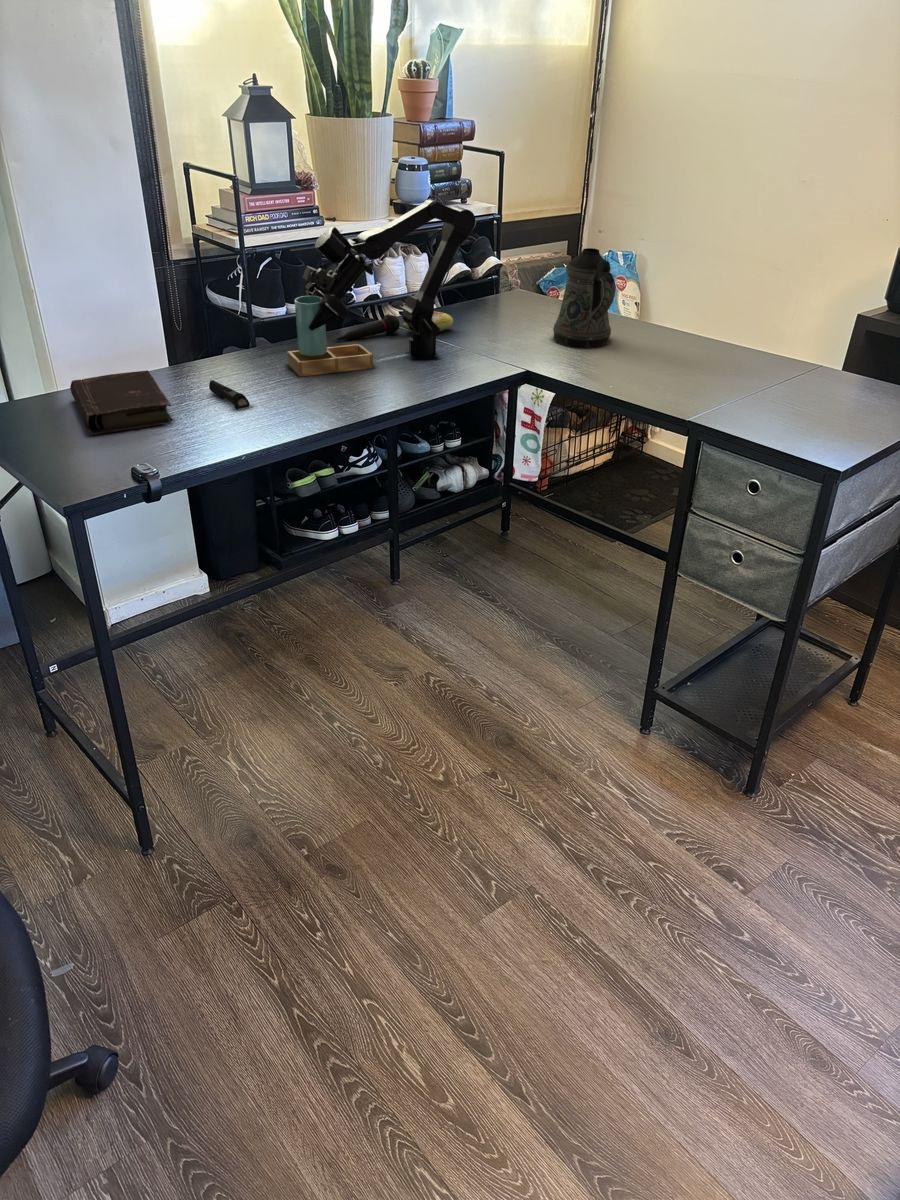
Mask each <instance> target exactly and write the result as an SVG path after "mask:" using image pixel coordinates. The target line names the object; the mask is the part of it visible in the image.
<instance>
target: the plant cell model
mask: <svg viewBox="0 0 900 1200" xmlns="http://www.w3.org/2000/svg"><path fill="white" fill-rule="evenodd" d="M432 321H433V322H434V323H435V324H436V325H437V326H438V327H439V328H440V330H439V332H442V331H445V330H447V329H449V328H451V327H452V326H453V324H454V319H453V317H452V316H451V315H450V314H448V313H445V312H441V311H435V310H434V313H433V317H432ZM403 328H405V329H406V330H408V331H410V332H413V331H412V330H410V329H409V326H408V324H406V323H405V322H404V321H403Z"/></svg>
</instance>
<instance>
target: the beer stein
mask: <svg viewBox="0 0 900 1200" xmlns="http://www.w3.org/2000/svg"><path fill="white" fill-rule="evenodd" d="M611 270H612V269H611V264H610V261H608V260H606V259H605V258H604V257H603V256H602V255H601V253H600V249H597V248H594V247H593V248H591V247H588V248H587V247H586V248H583V249H582V251H581V252H580V253H579V254H578V255H577V256H575V257H574V258H573V259H571V260H570V261H569V262H568V263H567V264H566V265H565V273H566V275H567V278H566V283H565V288H564V291H563V292H564V293H563V297H562V300H561V301H562V302H561V306H560V310H559V312H558V316H557V319H556V321H555V323H554V324H553V327H552V331H553V339H554V341H555V343H556V344H559V345H561V346H564V347H570V348H577V349H595V348H601V347H604V346H606V345H608V342H609V340H610V337H611V334H612V328H611V325H610V319H609V317H610V316H609V310H610V308H611V307H612V304H613V303H614V300H615V297H616V293H617V291H616V290H617V286H616V281H615V278H614V275H613V274H612V273H611Z"/></svg>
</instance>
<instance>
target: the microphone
mask: <svg viewBox="0 0 900 1200" xmlns="http://www.w3.org/2000/svg"><path fill="white" fill-rule="evenodd" d="M400 326H401V323H400V320H399V318H398V317H397V316H396V315H393V314H390V313H387V314H385V315H384V316H383V319H382V320H377V321H374V322H372V323H370V324H366V325H364V326H361V327H358V328H355V329H352V330H350V331H348V332H346V333H345V334H344V335H341V336H339V337H337V338H336V341H344V340H347V341H353V340H356V339H357V340H358V339H361V338H366V337H372V336H376V335H380V334H383V333H386V334H389V335H390V336H391V335H394V334H395V333H396V332H398V330H399V329H400Z"/></svg>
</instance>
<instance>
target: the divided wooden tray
mask: <svg viewBox="0 0 900 1200" xmlns="http://www.w3.org/2000/svg"><path fill="white" fill-rule="evenodd" d="M287 361H288V362H287V364H288V367H290V368H291V369H292V370H293V371H294V373H295V374H296V375H297V376H298V377H307V376H317V375H325V374H335V373H343V372H351V371H352V372H353V371H360V370H367V369H374V354H373V353H372V352H371V351H369V350H368V349H367V348H365V347H364V346H363V345H362V344H360V343H356V344H346V345H337V346H336V345H335V346H327V352H326V353H324V354H322V355H317V356H307V355H303V354H300V353H299V349H298V350H289V351H287Z"/></svg>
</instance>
